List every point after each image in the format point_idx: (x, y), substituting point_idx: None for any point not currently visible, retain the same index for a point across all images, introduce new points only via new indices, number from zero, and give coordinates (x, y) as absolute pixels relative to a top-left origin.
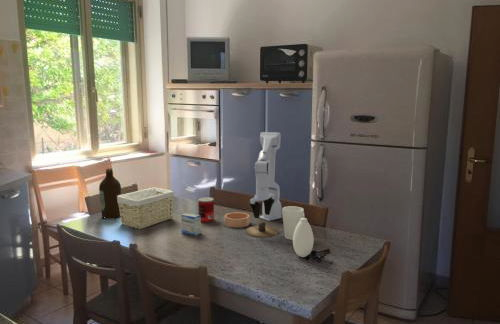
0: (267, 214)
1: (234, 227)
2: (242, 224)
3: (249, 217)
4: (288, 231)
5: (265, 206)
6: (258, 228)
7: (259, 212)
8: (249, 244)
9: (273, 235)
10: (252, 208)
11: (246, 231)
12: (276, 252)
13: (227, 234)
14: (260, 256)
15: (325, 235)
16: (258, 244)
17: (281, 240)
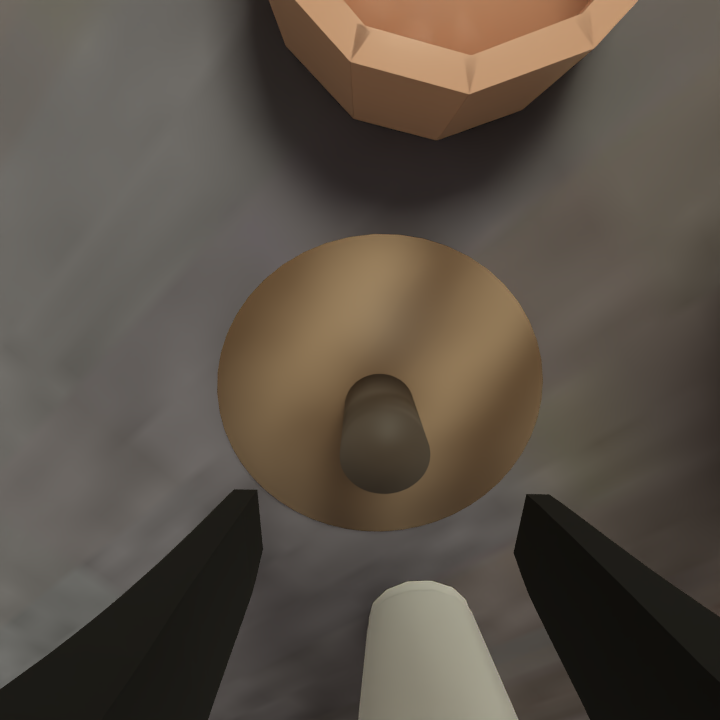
0: (519, 538)
1: (283, 37)
2: (367, 108)
3: (572, 63)
4: (361, 697)
5: (649, 657)
6: (412, 339)
7: (217, 686)
8: (77, 504)
9: (358, 524)
10: (24, 701)
11: (248, 307)
12: None
13: (51, 178)
14: (14, 650)
15: (577, 712)
16: (133, 545)
17: (317, 601)
